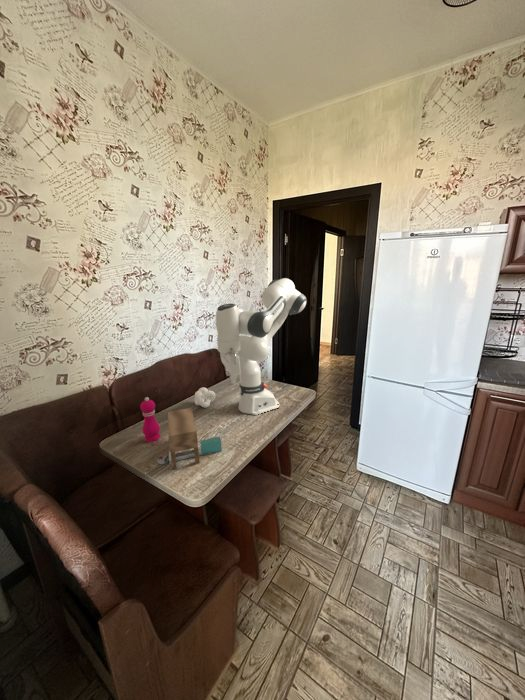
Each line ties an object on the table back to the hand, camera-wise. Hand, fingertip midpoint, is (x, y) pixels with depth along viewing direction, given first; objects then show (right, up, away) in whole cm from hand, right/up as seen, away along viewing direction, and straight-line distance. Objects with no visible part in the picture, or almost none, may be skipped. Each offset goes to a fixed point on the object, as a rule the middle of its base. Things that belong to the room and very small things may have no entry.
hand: (230, 378), depth 113 cm
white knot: (-20, -19, +44) cm, 52 cm away
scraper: (-14, -31, 0) cm, 34 cm away
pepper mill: (-37, -28, +12) cm, 48 cm away
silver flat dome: (-26, -32, -4) cm, 42 cm away
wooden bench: (-19, -30, +2) cm, 36 cm away
